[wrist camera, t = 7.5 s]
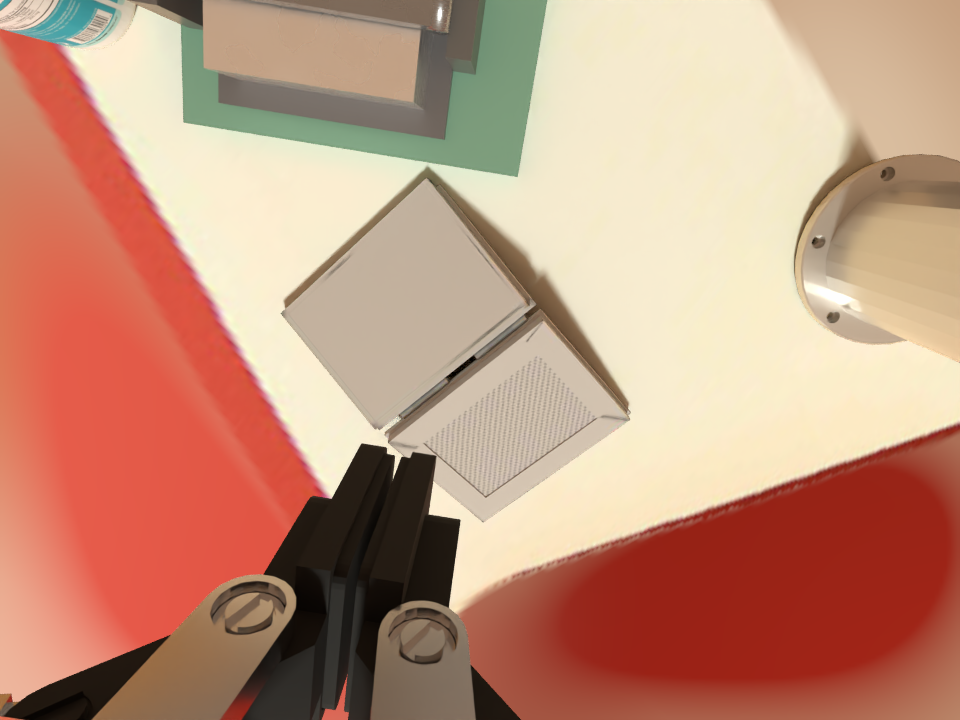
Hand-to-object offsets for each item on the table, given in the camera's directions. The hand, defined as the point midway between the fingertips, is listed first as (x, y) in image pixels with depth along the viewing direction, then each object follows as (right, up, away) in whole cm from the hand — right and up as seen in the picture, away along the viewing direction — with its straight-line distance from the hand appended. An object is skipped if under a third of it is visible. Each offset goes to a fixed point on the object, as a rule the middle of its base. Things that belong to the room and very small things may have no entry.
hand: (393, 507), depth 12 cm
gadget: (0, +3, +31) cm, 31 cm away
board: (-5, +25, +22) cm, 34 cm away
